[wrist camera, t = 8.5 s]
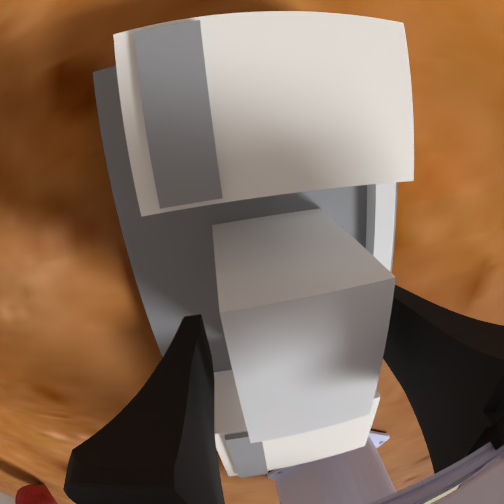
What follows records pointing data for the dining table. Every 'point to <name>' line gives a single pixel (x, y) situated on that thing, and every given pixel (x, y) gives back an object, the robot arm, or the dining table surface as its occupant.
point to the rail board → (252, 167)
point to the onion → (34, 495)
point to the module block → (301, 320)
